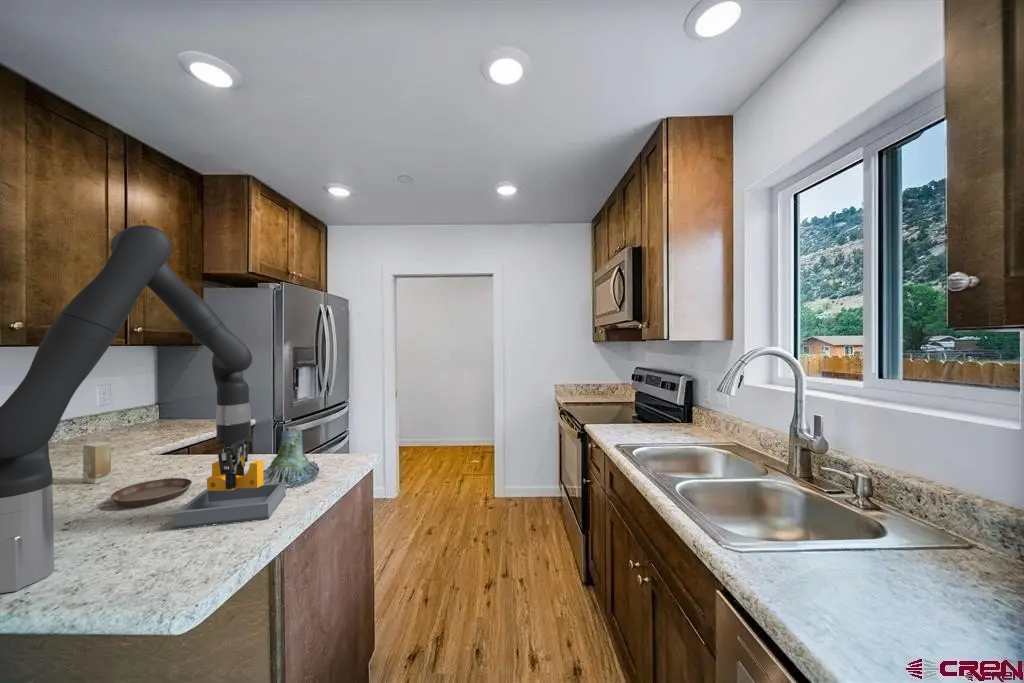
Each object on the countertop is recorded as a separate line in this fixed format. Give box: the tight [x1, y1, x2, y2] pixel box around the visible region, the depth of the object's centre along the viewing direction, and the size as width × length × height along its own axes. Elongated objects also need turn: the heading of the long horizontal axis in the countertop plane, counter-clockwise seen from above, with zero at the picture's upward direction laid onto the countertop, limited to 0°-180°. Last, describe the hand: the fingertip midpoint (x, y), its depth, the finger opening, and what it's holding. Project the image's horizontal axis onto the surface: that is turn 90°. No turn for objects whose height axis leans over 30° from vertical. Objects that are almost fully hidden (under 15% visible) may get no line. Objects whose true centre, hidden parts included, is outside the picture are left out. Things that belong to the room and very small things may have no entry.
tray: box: [174, 482, 287, 530], centre depth 108 cm, size 16×20×4 cm
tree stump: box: [263, 430, 320, 490], centre depth 134 cm, size 18×20×18 cm
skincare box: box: [82, 441, 112, 484], centre depth 133 cm, size 6×4×12 cm
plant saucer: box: [110, 477, 193, 508], centre depth 119 cm, size 18×18×3 cm
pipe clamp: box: [206, 460, 264, 491], centre depth 108 cm, size 12×4×6 cm, turn 89°
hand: (235, 484), depth 108 cm, fingers closed on pipe clamp, 5 cm apart
